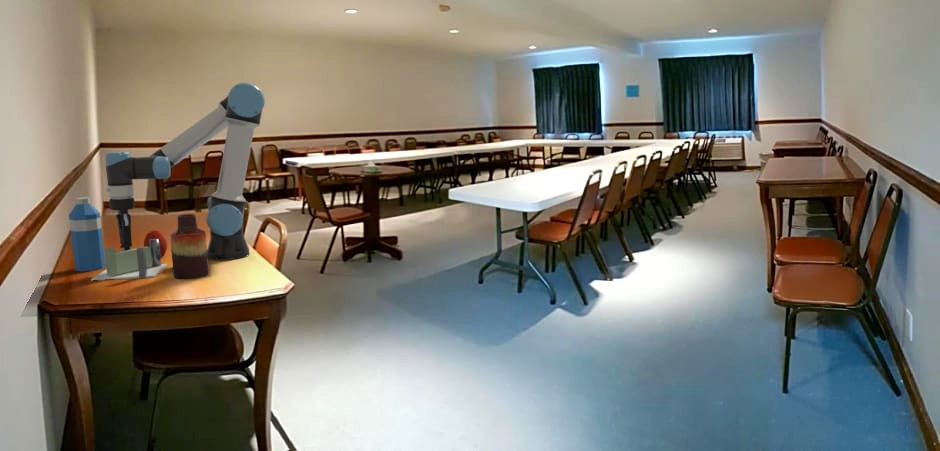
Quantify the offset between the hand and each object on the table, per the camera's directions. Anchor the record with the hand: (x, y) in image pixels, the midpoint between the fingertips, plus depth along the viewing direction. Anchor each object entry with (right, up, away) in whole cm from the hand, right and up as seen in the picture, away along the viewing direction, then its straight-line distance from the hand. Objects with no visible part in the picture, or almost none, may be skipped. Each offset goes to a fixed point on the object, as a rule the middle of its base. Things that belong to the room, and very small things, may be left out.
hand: (128, 265), depth 225 cm
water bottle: (-16, -2, +6) cm, 17 cm away
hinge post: (+7, -1, +5) cm, 9 cm away
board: (+2, -2, -2) cm, 4 cm away
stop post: (+10, -3, -9) cm, 13 cm away
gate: (+3, -2, -3) cm, 5 cm away
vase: (+25, -3, -8) cm, 26 cm away
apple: (-2, +2, +24) cm, 24 cm away
